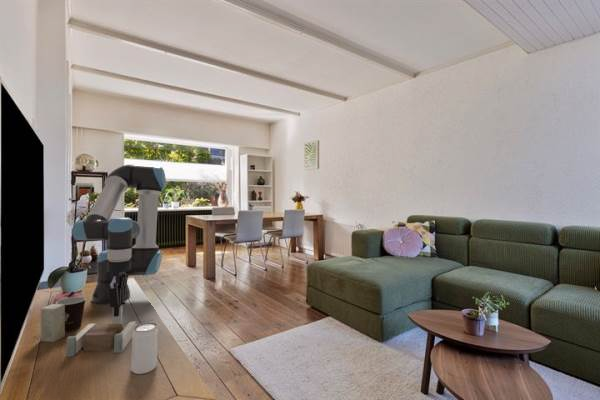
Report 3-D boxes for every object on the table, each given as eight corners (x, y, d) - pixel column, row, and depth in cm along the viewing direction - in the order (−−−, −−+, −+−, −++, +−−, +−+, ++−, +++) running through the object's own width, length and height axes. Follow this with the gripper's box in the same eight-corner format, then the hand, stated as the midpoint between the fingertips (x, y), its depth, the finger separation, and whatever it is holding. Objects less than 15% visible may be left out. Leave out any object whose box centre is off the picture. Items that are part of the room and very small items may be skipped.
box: (65, 336, 100) (66, 304, 100) (53, 342, 96) (54, 309, 96) (51, 335, 101) (52, 303, 101) (38, 341, 97) (40, 308, 97)
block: (97, 338, 100) (98, 324, 100) (122, 338, 101) (123, 323, 101) (83, 351, 92) (84, 335, 92) (110, 350, 93) (111, 334, 93)
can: (129, 377, 79) (131, 333, 79) (132, 364, 85) (134, 323, 85) (156, 372, 82) (157, 329, 82) (157, 360, 88) (158, 320, 88)
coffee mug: (90, 325, 110) (91, 298, 110) (65, 335, 101) (66, 306, 101) (69, 320, 113) (69, 294, 113) (43, 329, 105) (44, 301, 105)
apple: (85, 310, 123) (86, 286, 123) (79, 318, 115) (80, 293, 115) (57, 313, 119) (58, 289, 119) (49, 321, 111) (50, 295, 111)
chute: (88, 335, 102) (89, 319, 102) (135, 332, 105) (136, 316, 105) (66, 356, 88) (66, 338, 88) (121, 352, 91) (121, 334, 91)
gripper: (115, 256, 113) (113, 317, 113) (99, 263, 100) (97, 332, 100) (136, 256, 114) (134, 316, 114) (124, 263, 102) (121, 331, 102)
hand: (117, 323), depth 107 cm, fingers closed
